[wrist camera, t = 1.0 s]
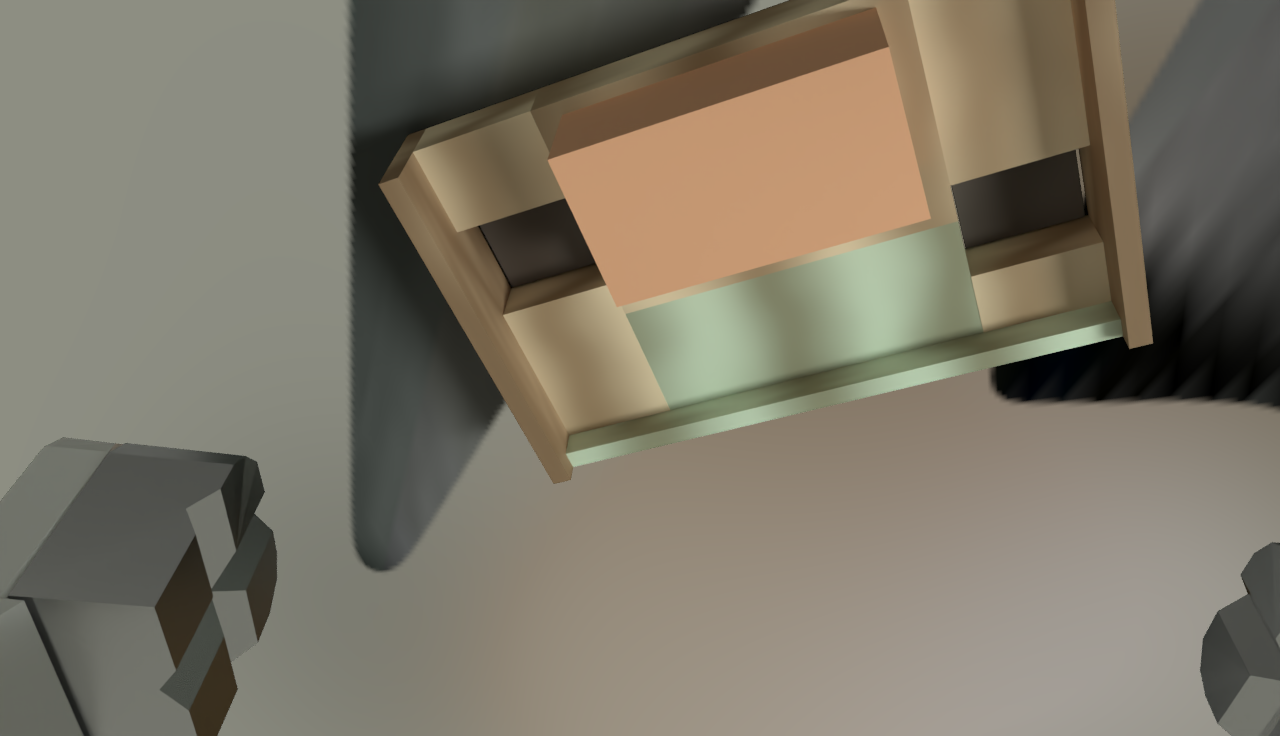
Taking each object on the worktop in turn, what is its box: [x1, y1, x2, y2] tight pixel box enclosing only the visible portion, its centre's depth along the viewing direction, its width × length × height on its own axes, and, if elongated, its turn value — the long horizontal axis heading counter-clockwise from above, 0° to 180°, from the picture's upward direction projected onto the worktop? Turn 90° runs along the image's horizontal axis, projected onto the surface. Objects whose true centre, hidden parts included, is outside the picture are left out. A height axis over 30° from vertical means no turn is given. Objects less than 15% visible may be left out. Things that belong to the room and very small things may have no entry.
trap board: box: [378, 0, 1153, 484], centre depth 38 cm, size 24×15×4 cm, turn 111°
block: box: [547, 7, 931, 307], centre depth 34 cm, size 11×6×4 cm, turn 111°
